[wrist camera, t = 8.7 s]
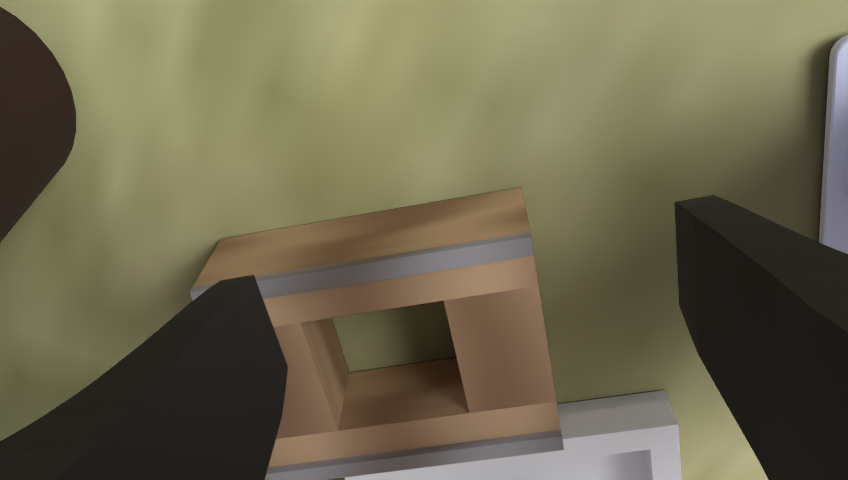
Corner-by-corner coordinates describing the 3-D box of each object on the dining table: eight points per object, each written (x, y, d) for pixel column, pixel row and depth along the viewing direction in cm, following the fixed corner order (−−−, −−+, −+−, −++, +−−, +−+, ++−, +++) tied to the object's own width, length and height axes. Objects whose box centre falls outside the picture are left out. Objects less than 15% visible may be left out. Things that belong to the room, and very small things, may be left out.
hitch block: (521, 187, 23) (531, 236, 20) (551, 383, 26) (564, 449, 24) (220, 238, 24) (188, 292, 21) (290, 419, 28) (271, 486, 25)
